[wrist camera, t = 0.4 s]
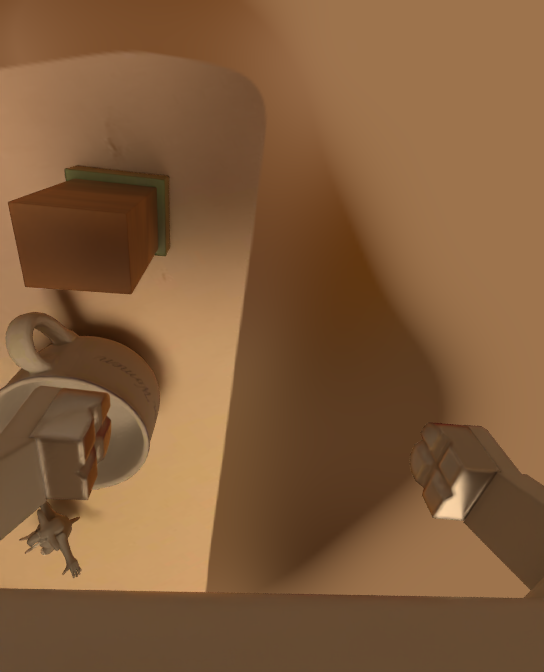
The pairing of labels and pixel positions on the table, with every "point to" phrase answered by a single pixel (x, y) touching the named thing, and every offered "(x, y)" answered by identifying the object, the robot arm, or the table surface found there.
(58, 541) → the grey creature figurine
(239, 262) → the table surface
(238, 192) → the table surface
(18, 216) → the brown block green base
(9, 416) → the teacup
